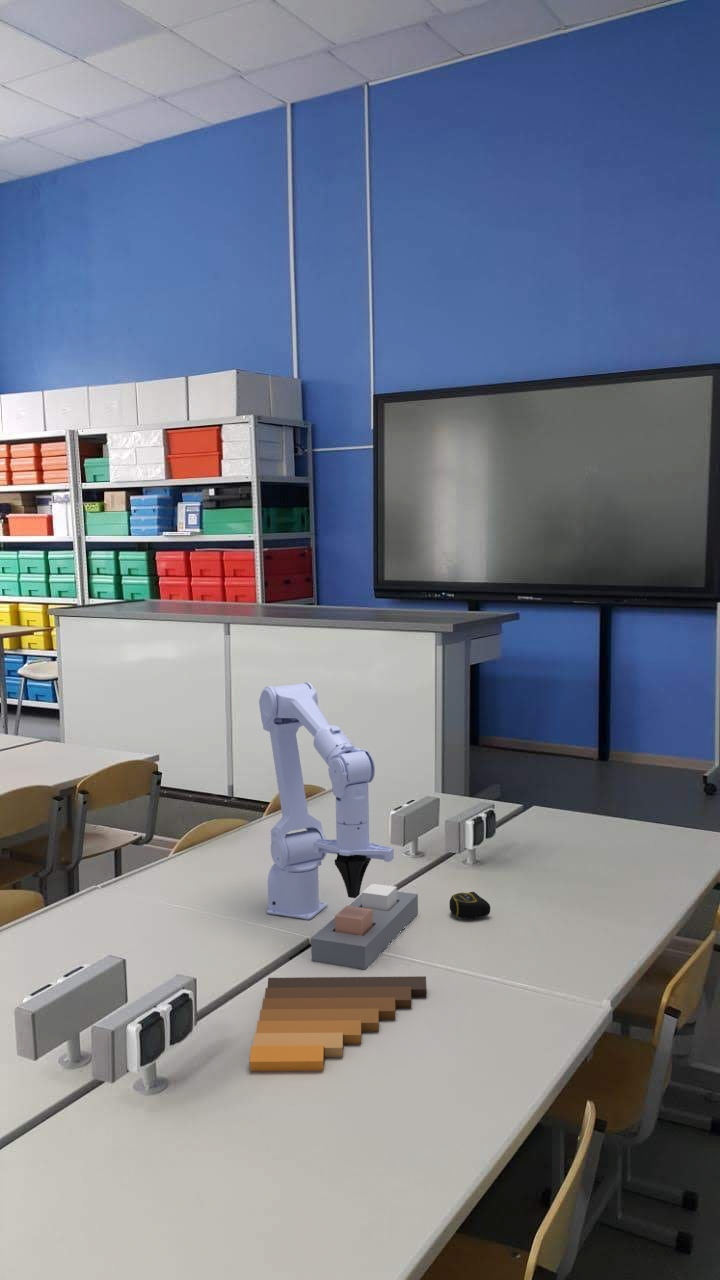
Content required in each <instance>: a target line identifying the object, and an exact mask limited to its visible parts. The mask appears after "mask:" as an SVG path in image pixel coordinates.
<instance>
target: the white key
mask: <svg viewBox="0 0 720 1280" xmlns="http://www.w3.org/2000/svg"><path fill="white" fill-rule="evenodd" d="M397 892H398V886H393V885H385V884H378V883H376V884H375V883H371V884H370V885H369V886H368V887H367V888H365V889H364V890H363V891H362V892H361V895H362V908H369V909H376V910H383V911H390V910H391V909H392V908H393V907H394V906H395V905H396V904H397Z"/></svg>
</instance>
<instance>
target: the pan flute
mask: <svg viewBox="0 0 720 1280" xmlns="http://www.w3.org/2000/svg"><path fill="white" fill-rule="evenodd" d="M427 990H428V989H427V976H420V975H419V976H417V975H416V976H336V977H335V976H325V977H324V976H322V977H321V976H319V977H318V976H317V977H315V976H313V977H305V976H304V977H300V976H299V977H268V978H267V987H265V991H264V998H262V1004H261V1005H262V1006H261V1007H262V1008H261V1009H259V1010H260V1011H259V1019H258V1020H257V1021H256V1022H257V1023H256V1032H254V1034H253V1044H252V1045H251V1046H250V1053H249V1054H250V1056H249V1068H250V1072H269V1071H270V1072H274V1071H275V1072H278V1071H279V1072H281V1071H287V1072H288V1071H291V1072H292V1071H293V1072H294V1071H296V1072H297V1071H299V1072H300V1071H303V1072H304V1071H325V1063H326V1062H325V1061H326V1059H325V1058H335V1057H336V1058H339V1057H340V1058H341V1057H344V1049H345V1047H344V1046H345V1045H348V1044H349V1045H358V1044H362V1032H379V1031H380V1029H379V1028H380V1027H379V1026H380V1020H396V1009H412V998H427V994H428V993H427Z"/></svg>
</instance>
